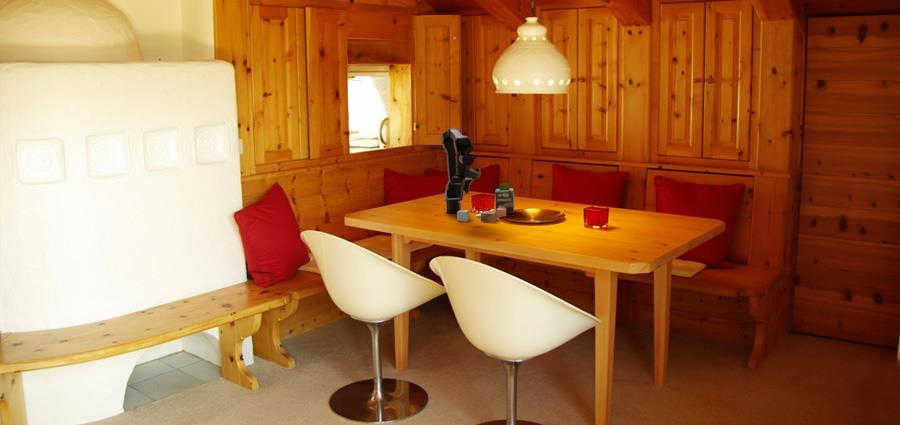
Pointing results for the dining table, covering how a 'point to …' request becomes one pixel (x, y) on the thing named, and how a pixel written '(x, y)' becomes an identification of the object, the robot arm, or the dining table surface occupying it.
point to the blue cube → (463, 215)
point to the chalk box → (505, 198)
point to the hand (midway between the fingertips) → (463, 195)
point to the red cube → (501, 212)
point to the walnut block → (489, 216)
